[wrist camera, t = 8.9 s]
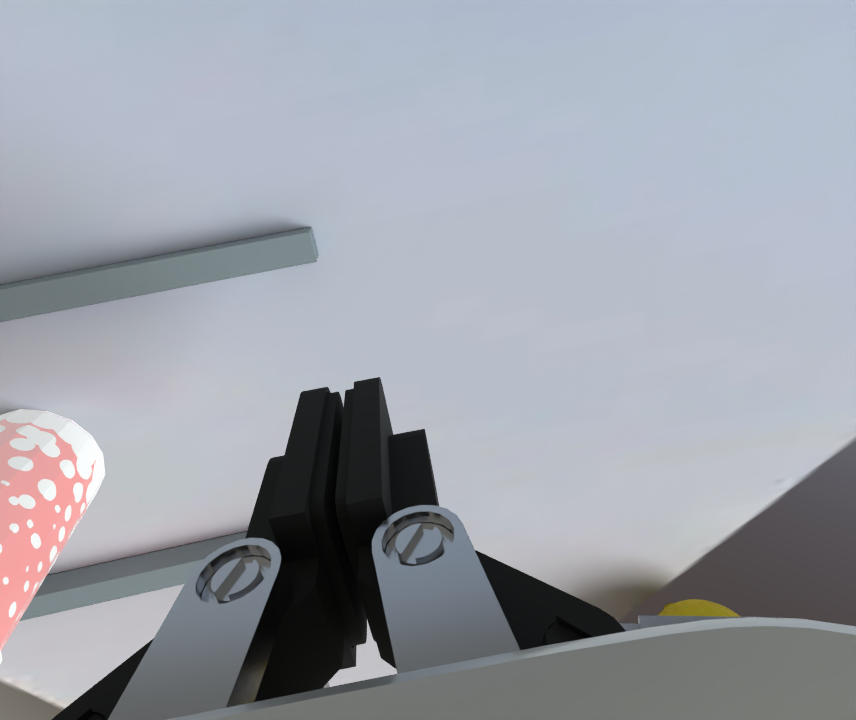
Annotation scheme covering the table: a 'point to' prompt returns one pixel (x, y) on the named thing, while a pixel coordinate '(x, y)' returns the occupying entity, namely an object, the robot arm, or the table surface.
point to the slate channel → (120, 284)
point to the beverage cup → (39, 501)
